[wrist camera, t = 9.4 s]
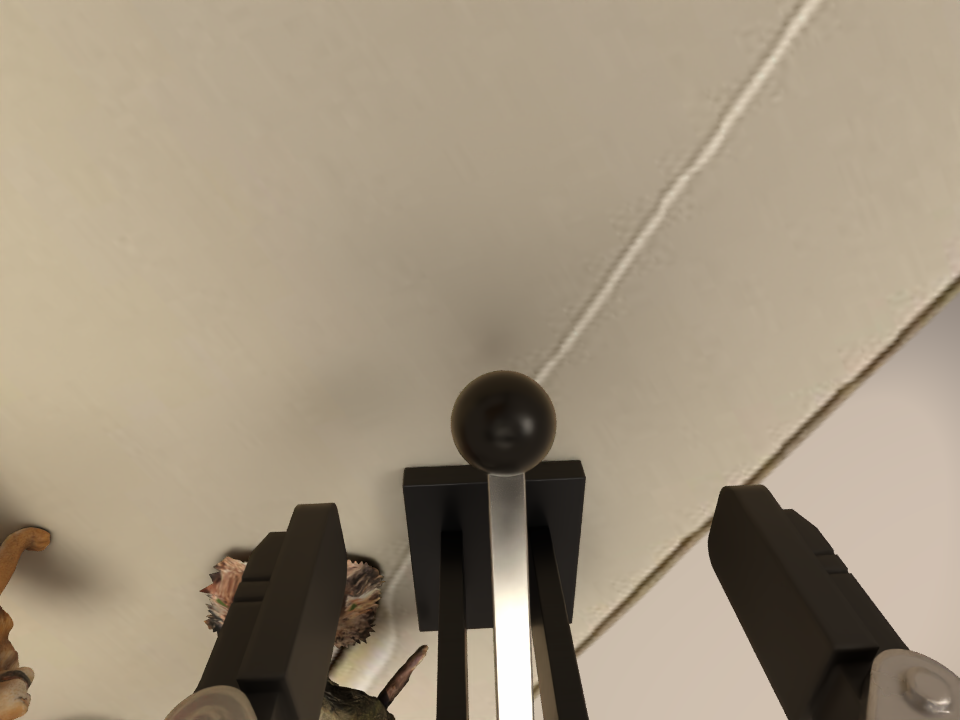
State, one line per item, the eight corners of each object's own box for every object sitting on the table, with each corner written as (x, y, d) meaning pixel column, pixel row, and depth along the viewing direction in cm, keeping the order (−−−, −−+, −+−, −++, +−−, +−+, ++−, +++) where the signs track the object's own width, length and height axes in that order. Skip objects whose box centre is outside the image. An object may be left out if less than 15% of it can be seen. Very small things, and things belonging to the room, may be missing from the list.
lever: (449, 370, 18) (447, 374, 15) (546, 366, 18) (563, 370, 15) (469, 846, 19) (469, 948, 15) (563, 840, 19) (584, 940, 15)
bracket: (404, 467, 25) (360, 856, 13) (580, 459, 25) (699, 834, 13) (420, 611, 30) (399, 991, 18) (568, 604, 30) (646, 973, 18)
